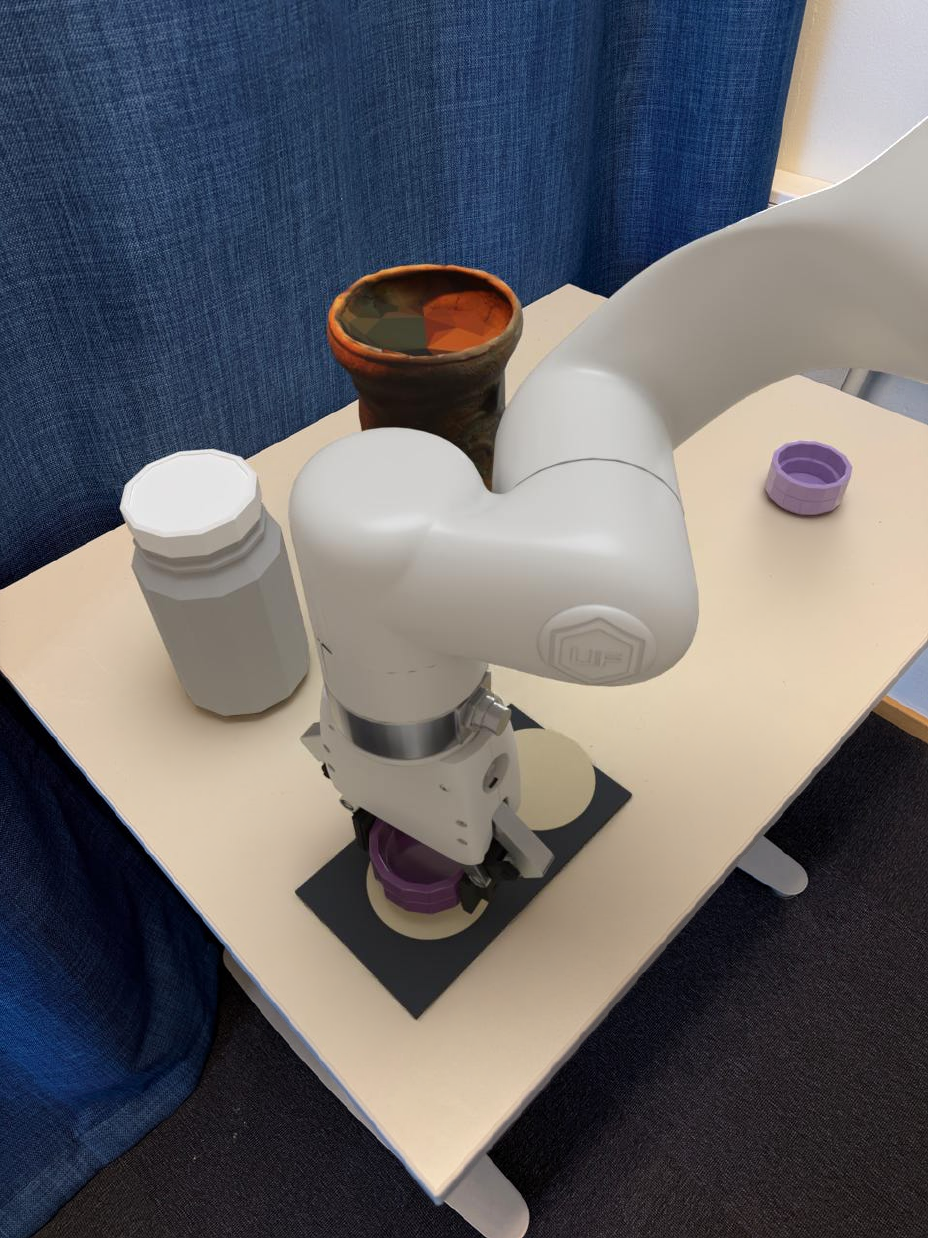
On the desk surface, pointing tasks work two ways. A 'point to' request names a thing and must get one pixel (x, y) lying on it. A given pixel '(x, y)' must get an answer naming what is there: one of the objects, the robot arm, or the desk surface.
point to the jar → (217, 580)
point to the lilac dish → (808, 477)
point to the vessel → (430, 352)
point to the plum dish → (413, 871)
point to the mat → (452, 939)
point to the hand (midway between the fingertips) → (427, 860)
